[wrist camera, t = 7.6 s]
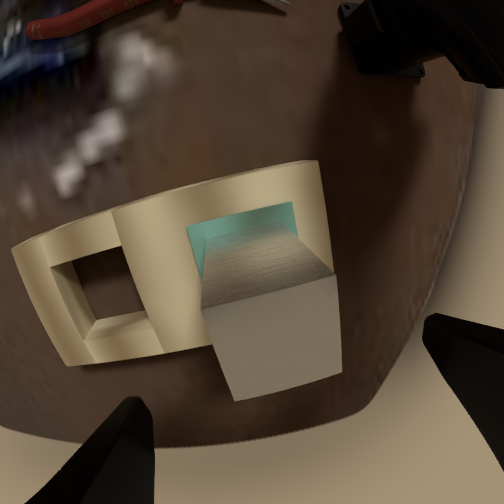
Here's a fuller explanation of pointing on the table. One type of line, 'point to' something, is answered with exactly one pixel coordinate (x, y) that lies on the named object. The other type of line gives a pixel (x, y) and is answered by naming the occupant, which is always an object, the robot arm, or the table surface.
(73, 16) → the pliers
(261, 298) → the steel block
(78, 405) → the table surface
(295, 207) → the beige slotted block
